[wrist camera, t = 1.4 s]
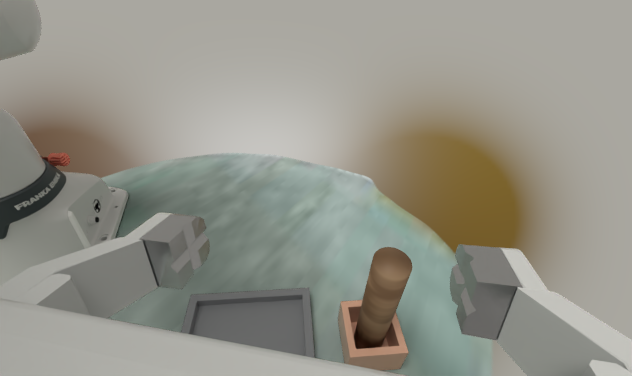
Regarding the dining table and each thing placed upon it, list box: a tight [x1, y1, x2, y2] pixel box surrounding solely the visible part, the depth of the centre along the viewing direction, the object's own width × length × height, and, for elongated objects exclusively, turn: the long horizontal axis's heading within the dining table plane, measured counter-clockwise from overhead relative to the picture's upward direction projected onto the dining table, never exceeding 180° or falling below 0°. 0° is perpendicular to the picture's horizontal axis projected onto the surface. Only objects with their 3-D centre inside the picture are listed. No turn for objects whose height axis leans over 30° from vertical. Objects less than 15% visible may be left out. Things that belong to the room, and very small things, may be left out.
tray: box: [181, 288, 315, 358], centre depth 35 cm, size 16×16×2 cm
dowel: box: [354, 247, 412, 349], centre depth 32 cm, size 4×4×16 cm
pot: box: [338, 300, 409, 371], centre depth 36 cm, size 7×7×4 cm
